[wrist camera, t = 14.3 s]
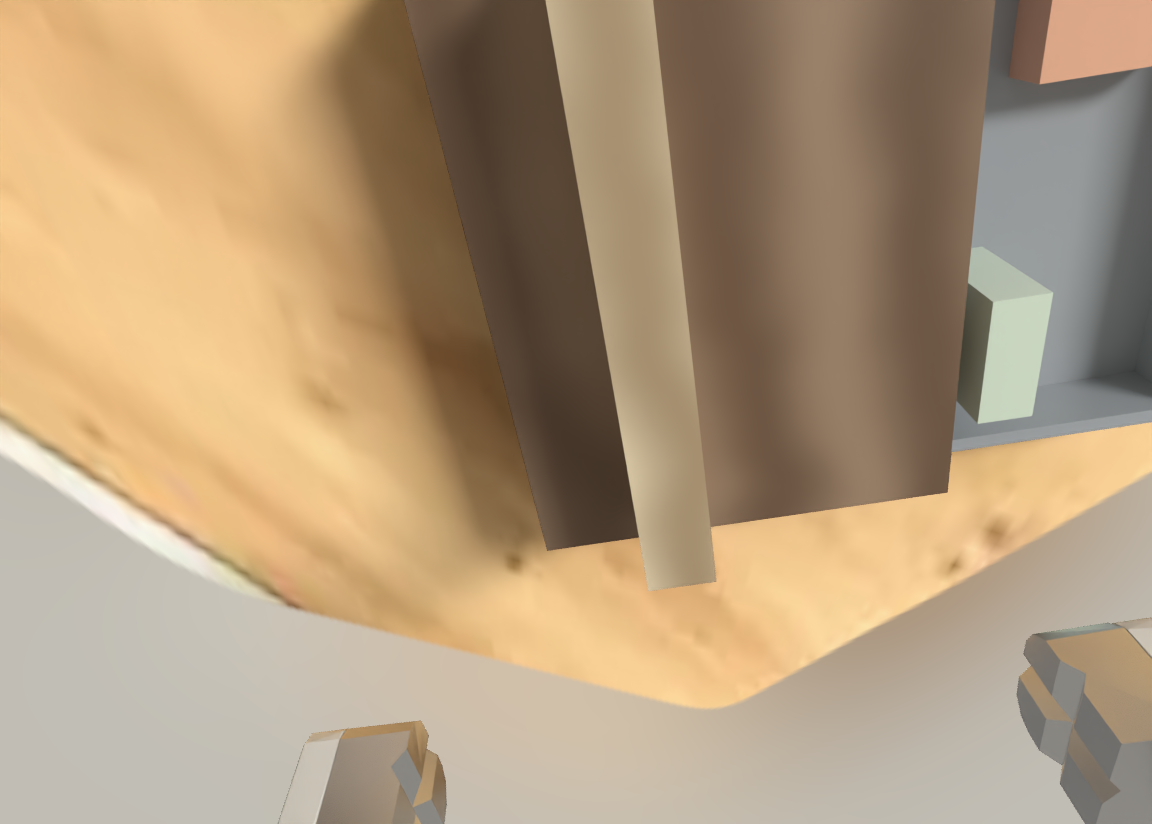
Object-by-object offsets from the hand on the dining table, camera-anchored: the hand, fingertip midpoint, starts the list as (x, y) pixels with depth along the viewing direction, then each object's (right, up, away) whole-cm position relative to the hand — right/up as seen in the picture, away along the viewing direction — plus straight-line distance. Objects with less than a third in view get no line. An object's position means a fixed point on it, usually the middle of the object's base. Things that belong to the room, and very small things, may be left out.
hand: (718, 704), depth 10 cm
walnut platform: (+3, +12, +19) cm, 23 cm away
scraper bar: (0, +8, +14) cm, 17 cm away
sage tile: (+13, +7, +19) cm, 24 cm away
